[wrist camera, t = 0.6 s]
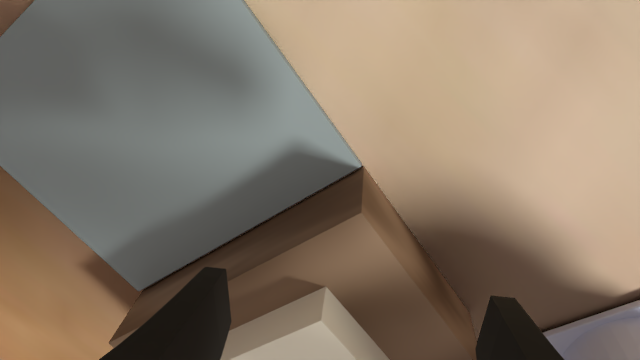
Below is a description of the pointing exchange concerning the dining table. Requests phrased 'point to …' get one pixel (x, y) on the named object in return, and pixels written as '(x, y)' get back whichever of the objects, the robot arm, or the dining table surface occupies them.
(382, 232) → the brown flat block
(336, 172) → the mat
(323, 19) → the dining table surface
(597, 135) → the dining table surface
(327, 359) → the cream rectangular block
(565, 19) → the dining table surface
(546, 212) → the dining table surface
